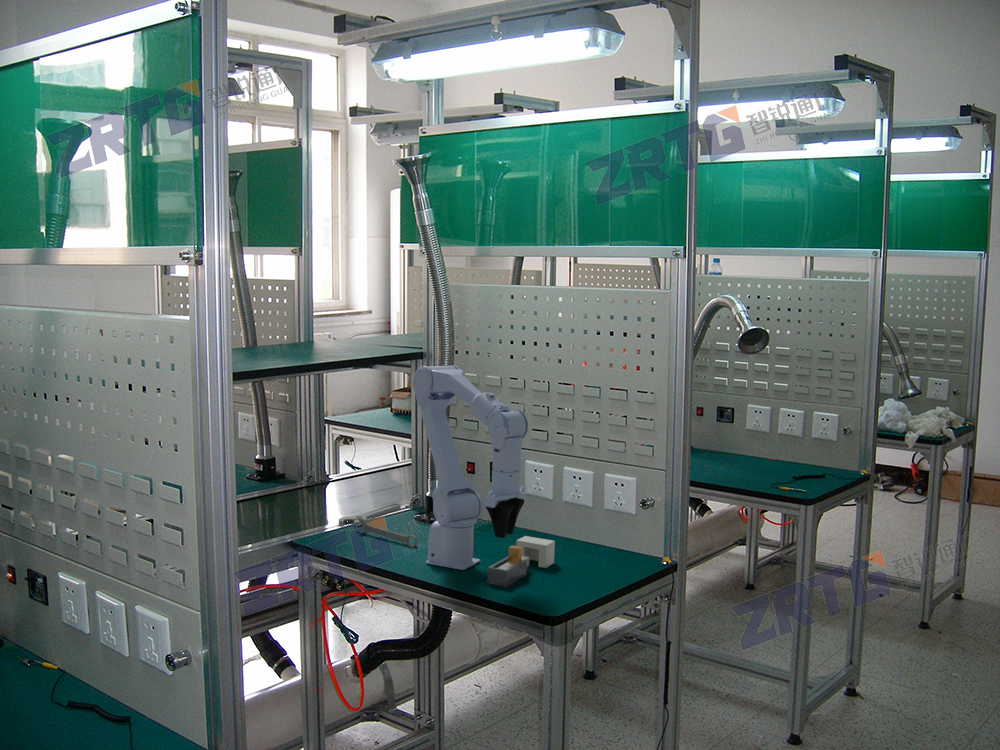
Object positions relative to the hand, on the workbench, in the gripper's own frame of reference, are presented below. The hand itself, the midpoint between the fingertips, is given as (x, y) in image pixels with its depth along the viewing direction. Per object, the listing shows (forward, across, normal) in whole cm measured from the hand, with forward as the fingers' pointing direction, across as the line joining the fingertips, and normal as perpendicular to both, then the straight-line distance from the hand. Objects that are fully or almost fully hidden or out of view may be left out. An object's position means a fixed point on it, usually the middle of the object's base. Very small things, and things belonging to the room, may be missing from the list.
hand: (503, 535), depth 188 cm
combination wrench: (+10, +14, +38) cm, 42 cm away
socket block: (+10, +16, 0) cm, 19 cm away
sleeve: (+10, +3, 0) cm, 10 cm away
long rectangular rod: (+9, +5, 0) cm, 10 cm away
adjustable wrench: (+10, +30, +52) cm, 61 cm away
